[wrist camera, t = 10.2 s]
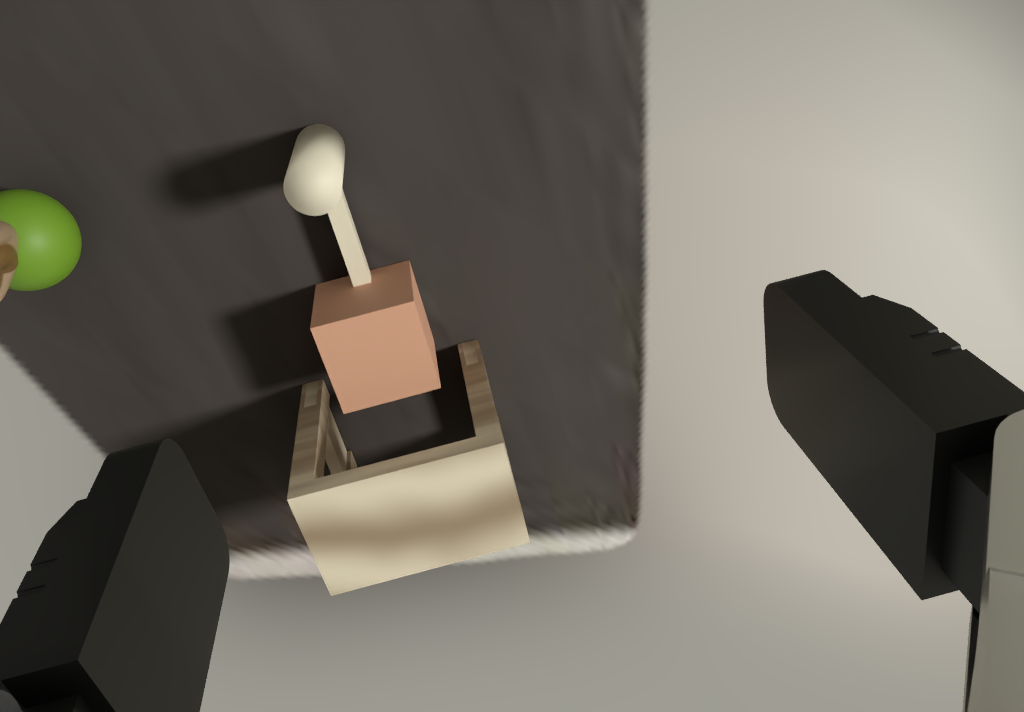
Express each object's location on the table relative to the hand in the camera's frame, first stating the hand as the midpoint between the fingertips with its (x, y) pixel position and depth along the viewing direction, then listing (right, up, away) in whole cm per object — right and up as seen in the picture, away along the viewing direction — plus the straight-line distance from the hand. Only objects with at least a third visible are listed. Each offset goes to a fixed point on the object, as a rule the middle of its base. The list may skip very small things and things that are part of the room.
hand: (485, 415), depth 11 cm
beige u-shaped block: (-7, -3, +45) cm, 45 cm away
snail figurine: (-26, +9, +35) cm, 44 cm away
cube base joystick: (-9, +8, +38) cm, 40 cm away
